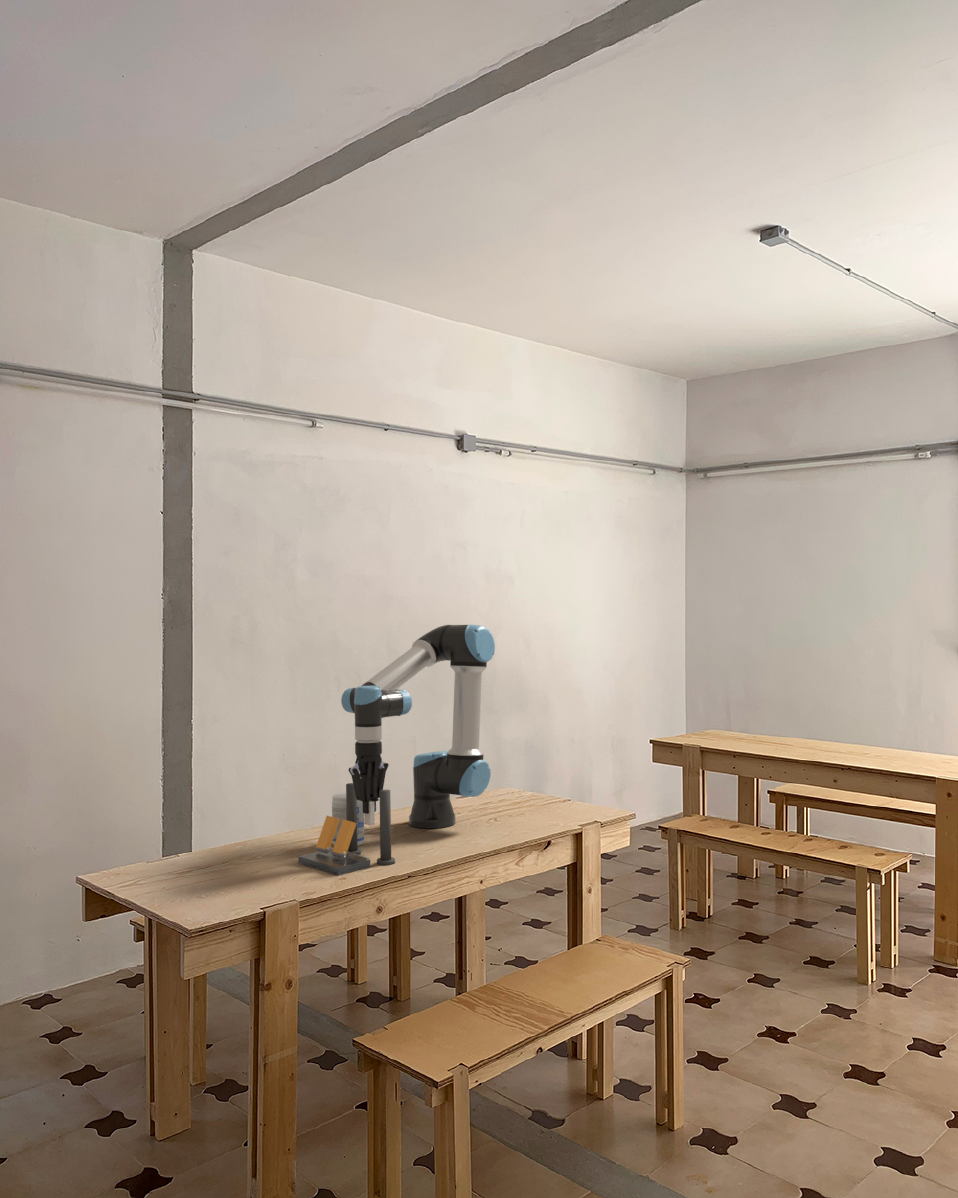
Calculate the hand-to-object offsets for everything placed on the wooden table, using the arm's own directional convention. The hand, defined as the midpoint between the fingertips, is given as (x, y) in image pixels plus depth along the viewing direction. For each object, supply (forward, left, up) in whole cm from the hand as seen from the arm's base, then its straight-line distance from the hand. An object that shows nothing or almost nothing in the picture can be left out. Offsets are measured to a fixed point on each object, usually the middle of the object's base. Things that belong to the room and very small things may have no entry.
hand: (369, 824), depth 274 cm
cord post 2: (0, +7, -10) cm, 12 cm away
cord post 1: (0, -8, -10) cm, 12 cm away
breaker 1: (+11, 0, -8) cm, 14 cm away
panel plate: (+11, -2, -10) cm, 15 cm away
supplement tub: (-6, -17, -10) cm, 20 cm away
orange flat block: (+11, -8, -8) cm, 16 cm away
